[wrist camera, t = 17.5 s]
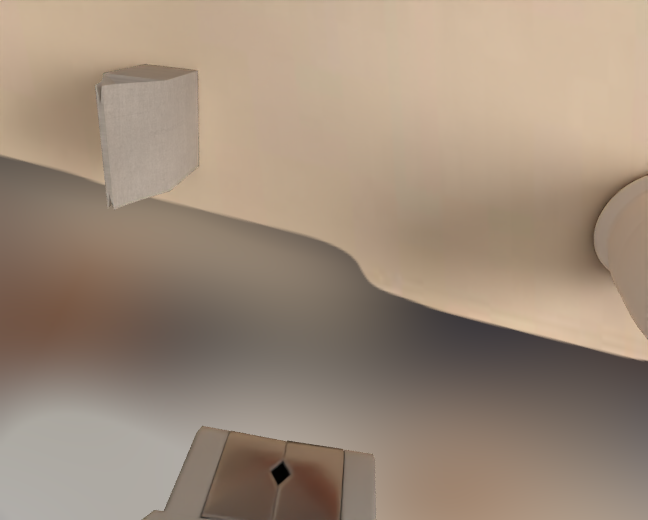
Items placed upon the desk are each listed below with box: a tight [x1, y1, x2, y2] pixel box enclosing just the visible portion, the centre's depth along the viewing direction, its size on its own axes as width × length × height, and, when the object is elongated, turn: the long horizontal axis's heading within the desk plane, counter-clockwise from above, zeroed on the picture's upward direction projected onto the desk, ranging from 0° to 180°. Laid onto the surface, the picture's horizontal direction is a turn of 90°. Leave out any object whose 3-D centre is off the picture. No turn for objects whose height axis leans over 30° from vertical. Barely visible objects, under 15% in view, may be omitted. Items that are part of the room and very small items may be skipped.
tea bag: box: [95, 64, 199, 210], centre depth 31 cm, size 4×7×10 cm, turn 174°
